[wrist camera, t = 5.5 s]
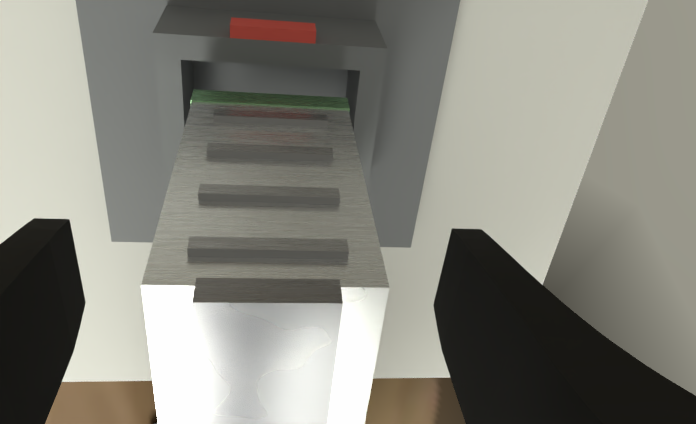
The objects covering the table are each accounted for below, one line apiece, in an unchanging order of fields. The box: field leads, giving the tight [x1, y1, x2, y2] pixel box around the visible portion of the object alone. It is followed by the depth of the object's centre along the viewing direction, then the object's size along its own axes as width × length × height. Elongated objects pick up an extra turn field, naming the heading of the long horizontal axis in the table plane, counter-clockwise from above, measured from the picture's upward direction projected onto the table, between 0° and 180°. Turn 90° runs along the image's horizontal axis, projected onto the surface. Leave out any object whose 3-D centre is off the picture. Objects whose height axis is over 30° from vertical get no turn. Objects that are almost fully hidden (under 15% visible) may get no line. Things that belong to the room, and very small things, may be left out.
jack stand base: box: [0, 0, 648, 382], centre depth 17 cm, size 26×20×4 cm
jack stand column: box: [141, 89, 390, 424], centre depth 12 cm, size 4×4×7 cm
